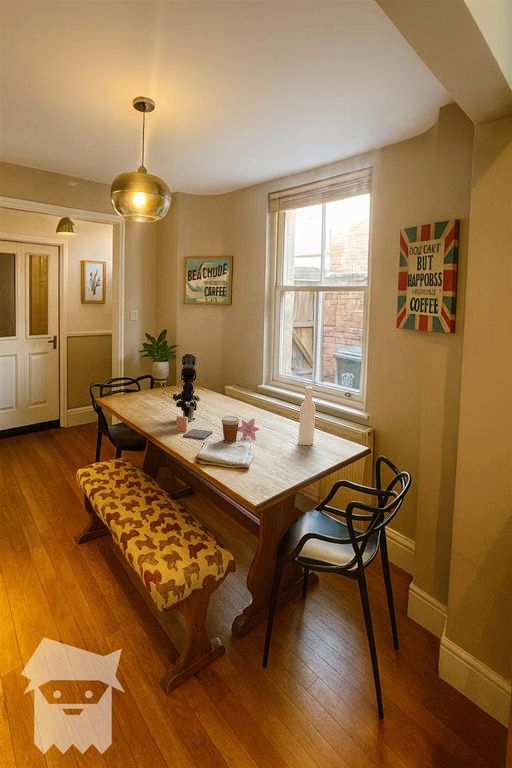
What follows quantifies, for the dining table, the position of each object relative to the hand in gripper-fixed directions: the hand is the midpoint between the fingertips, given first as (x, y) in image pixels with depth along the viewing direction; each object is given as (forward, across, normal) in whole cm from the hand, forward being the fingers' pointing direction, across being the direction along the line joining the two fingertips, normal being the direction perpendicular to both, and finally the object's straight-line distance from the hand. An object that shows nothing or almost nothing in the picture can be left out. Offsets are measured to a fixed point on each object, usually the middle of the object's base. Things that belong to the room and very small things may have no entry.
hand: (188, 416), depth 239 cm
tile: (+6, +8, 0) cm, 10 cm away
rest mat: (+6, +11, +11) cm, 17 cm away
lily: (+7, +5, +37) cm, 38 cm away
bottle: (+7, +2, +68) cm, 68 cm away
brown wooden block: (+2, 0, 0) cm, 2 cm away
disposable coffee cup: (+7, +13, +30) cm, 33 cm away
